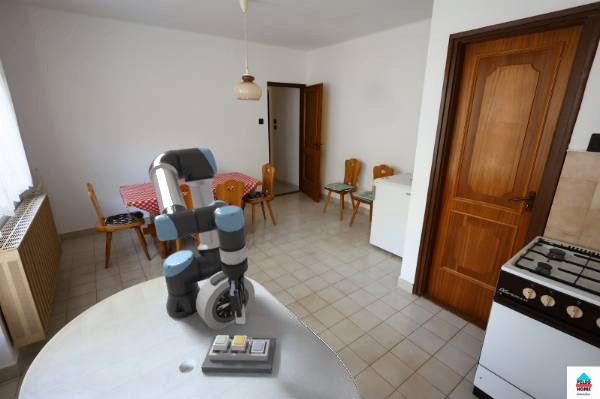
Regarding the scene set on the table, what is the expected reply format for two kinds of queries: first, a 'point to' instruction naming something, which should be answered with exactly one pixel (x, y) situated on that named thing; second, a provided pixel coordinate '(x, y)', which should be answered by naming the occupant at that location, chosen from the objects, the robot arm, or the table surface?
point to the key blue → (258, 348)
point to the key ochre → (239, 342)
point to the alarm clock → (220, 301)
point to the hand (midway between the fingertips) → (240, 321)
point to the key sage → (221, 342)
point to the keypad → (240, 358)
